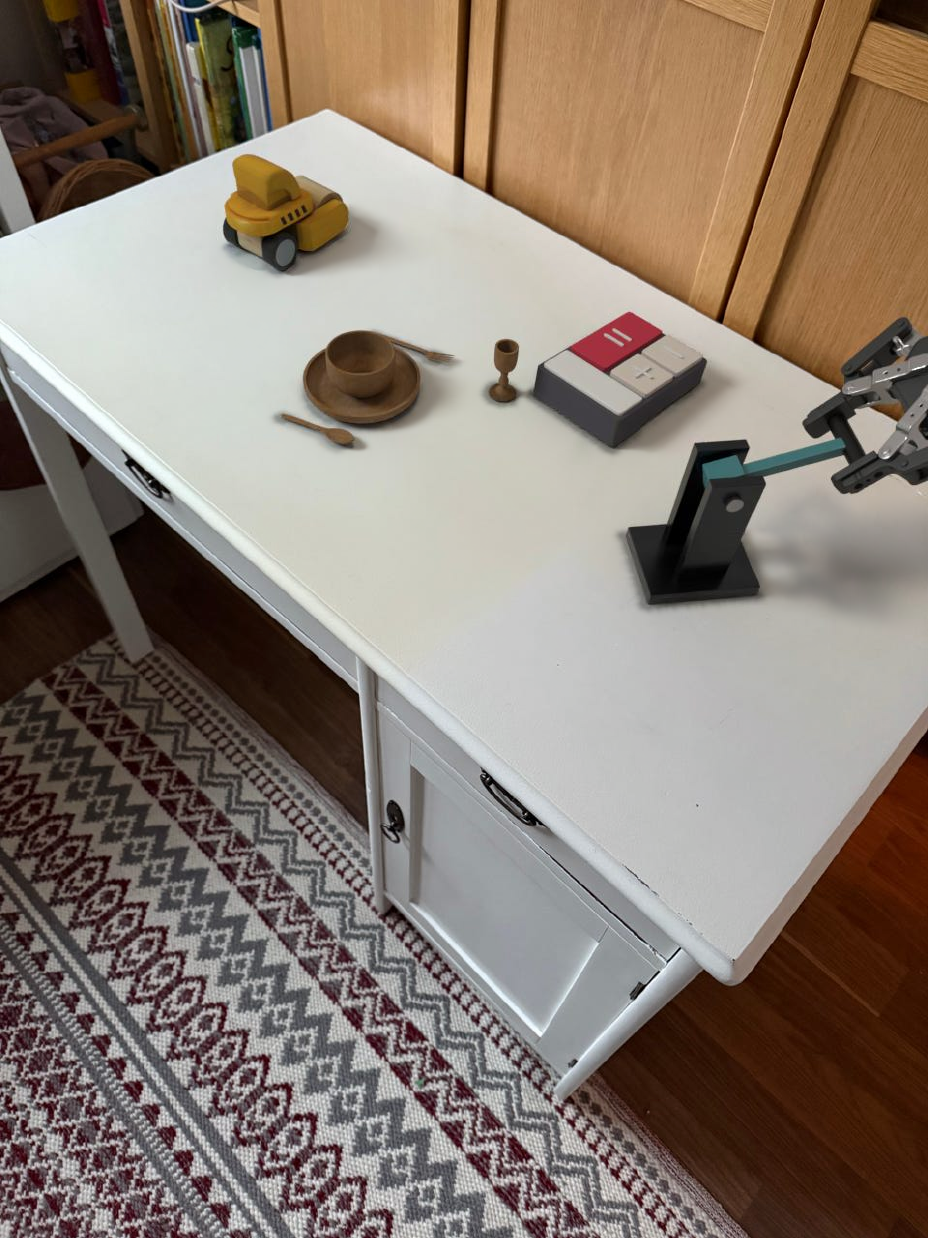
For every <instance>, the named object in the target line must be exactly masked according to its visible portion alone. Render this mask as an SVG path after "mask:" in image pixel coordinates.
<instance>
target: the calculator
mask: <svg viewBox="0 0 928 1238" xmlns="http://www.w3.org/2000/svg"><path fill="white" fill-rule="evenodd" d="M707 363H708V360H707V358H705V357H704V355H703V353H701V352H699V351H697V350H696V349H694V348H692V347H691V346H690V345H687V344H686V343H684V342H683V341H681V340H680V339H677V338H676V337H674V336H672V335H670V334H665V333H663V330H662V329H660V328H659V327H657V326H656V325H654V324H652V323H651V322H649V321H647V320H645V319H643V318H642V317H640V316H639V315H637V314H636V313H634V312H631V311H627V312H625V313H624V314H622V315H620V316H618V317H617V318H614V319H613V320H611V321H610V322H608V323H606V324H605V325H603V326H601V327H600V328H598V329H596V330H595V331H593V332H592V333H590V334H589V335H586V336H585V337H583V338H581V339H580V340H578V341H576V342H575V343H573V344H572V345H570V346H568V347H566V348H565V349H563V350H562V351H560V352H558V353H557V354H555V355H553V356H551V357H549V358H548V359H546V360H545V361H543V362H541V363H540V364H538V365H537V369H536V374H535V381H534V386H533V392H532V393H533V395H534V396H535V397H536V398H538V399H539V400H540V401H542V402H544V403H545V404H547V406H550V408H552V409H554V410H555V411H556V412H558V413H560V414H561V415H562V416H564V417H566V418H567V419H569V420H570V421H571V422H573V423H575V424H576V425H577V426H579V427H580V428H582V429H584V430H585V431H586V432H588V433H589V434H590V435H592V436H594V437H596V438H597V439H598V440H599V441H601V442H603V443H604V444H606V445H607V446H609V447H610V448H614V447H616V446H618V445H619V444H621V443H623V441H625V440H627V439H628V438H629V437H631V436H633V435H634V434H635V433H636V432H637V431H638V430H639V429H640V427H641V426H642V425H643V424H644V423H646V422H647V421H648V420H650V419H651V418H652V417H654V416H656V415H657V414H659V413H660V412H661V411H662V410H664V409H666V408H667V407H668V406H669V405H671V404H673V403H674V402H675V401H677V400H678V399H679V398H681V397H683V396H684V395H685V394H687V393H688V392H689V391H691V390H692V389H694V388H695V387H697V386H698V385H699V384H700V383H701V381H702V379H703V375H704V372H705V370H706V366H707Z"/></svg>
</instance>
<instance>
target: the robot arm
mask: <svg viewBox="0 0 928 1238" xmlns="http://www.w3.org/2000/svg"><path fill="white" fill-rule="evenodd" d="M902 357H903V358H905V359H904V360H903V361H900V362H898V360H899V359H900V358H902ZM840 373H841V374H842V376H843V385H842V387H841V390H840V391H839V392H838V393H836V394H835V395H833V396H832V397H830V398H829V399H827V400H825V401H824V402H823V403H820V405H818V406H816V407H815V408H813V409H811V410H810V412H809V413H808V414H807V415H806V418H803V420H802V422H801V424H802V426H803V429H804V431H805V432H806V434H808V436H810V437H811V438H812V439H815V440H817V439H820V438H821V437H824V435H826V434H828V433H829V432H831V430H830V429H829V427H828V424H827V423H828V420H829V419H830V418H831V417H832V416H834V415H836V414H843V415H845V417H846V419H847V420H850V419H851V418H853V417H854V416H856V415H857V412H856V411H855V410H862V409H866V408H870V407H873V406H878V405H882V404H883V405H886V406H887V405H888V406H892V405H896V404H900V405H901V409H902V411H903V413H904V414H903V415H902V416H901V417H900V419H898V421H897V422H896V425H895V430H894V431H893V433H892V434H891V435H890V436H889V437H888V438H887V439H886V440H885V442H884V443H883V444H882V445H881V446H880V448H879V449H878V451H877V452H876V451H875V450H871V451H870V452H868V453H866V455H865V456H863V457H862V458H860V459H858V460H857V461H855V462H853V463H852V464H850V465H849V464H847V466H845V467H843V468H842V469H840V470H838V471H837V472H835V473H833V474H832V475H831V477H830V481H831V483H832V485H833V487H834V488H835V489H836V490H837V491H838V492H839V494H841V495H847V494H850V495H853V494H854V495H855V494H858V493H860V492H862V491H864V490H865V489H867V488H869V487H870V486H872V485H874V484H876V483H877V482H878V481H880V480H882V479H884V478H886V477H888V476H890V475H896V476H899V477H900V478H901V479H903V480H905V481H906V482H907V483H908V484H909V485H910V486H919V485H921V484H924V483H926V482H928V335H926V336H923V335H922V334H920V332H918V331H917V330H916V328H915V327H914V325H913V324H912V323H911V322H910V320H909V318H908V317H906V316H901V317H899V318H897V319H896V320H894V321H893V322H892V323H891V324H890V325H889V326H887V327H886V328H885V329H884V330H883V331H882V332H881V333H879V334H878V335H876V337H874V338H873V339H872V340H871V341H869V342H868V343H867V344H866V345H864V347H863V348H861V349H860V350H859V351H858V352H856V354H854V355H853V356H851V358H849V359H848V360H847V361H846V362H845V363H843V364H842V365H841V368H840Z"/></svg>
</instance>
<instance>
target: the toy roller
mask: <svg viewBox="0 0 928 1238" xmlns="http://www.w3.org/2000/svg"><path fill="white" fill-rule="evenodd" d="M231 166H232V173H233V176H234V177H233V178H234V180H235V186H236V190H235V191H233V192H231V194H230V197H229V198H228V199H227V200H226V201H225V203H224V206H223V207H224V213H225V218H224V220H223V224H222V235H223V237H224V239H225V240H226V241H227V242H228V243H230V244H232V245H234V246H236V247H237V248H239V249H242V250H246V251H248V252H251V253H253V254H254V255H257V256H258V257H260V258H262V259H263V261H264V262H265V263H266V264H269V265H270V266H272V267H274V268H276V269H278V270H281V271H285V270H288V269H289V268H290V267H291V266H292V265H293V264H294V263H295V260H296V258H297V256H298V252H299V250H300V251H307V252H309V251H310V252H313V251H316V250H317V249H318V248H320V247H322V246H324V245H325V244H326V243H328V242H329V241H331V240H332V239H333V238H335V237H336V236H338V235H339V234H340V233H341V232H343V231H345V229H346V228H347V227H348V225H349V219H350V217H349V216H350V215H349V208H348V205H347V204H346V203H345V202H344V199H343V197H342V195H341V194H340V193H338V192H336V191H334V190H333V189H330V188H329V187H327V186H325V185H323V184H321V183H319V182H317V181H315V180H314V179H311V178H309V177H307V176H305V175H300V174H299V175H296V176H294V175H293V174H292V172H291V171H289V170H288V169H285V168H284V167H282V166H281V165H278V164H276V163H274V162H272V161H269V160H267V159H265V158H263V157H261V156H259V155H256V154H252V153H245V154H241V155H239V156H237V157H235V158H234V159H233V161H232V162H231Z"/></svg>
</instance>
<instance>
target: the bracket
mask: <svg viewBox="0 0 928 1238" xmlns="http://www.w3.org/2000/svg"><path fill="white" fill-rule="evenodd" d="M750 450H751V446H750V445H749V442H748V440H747V439H745V438H744V439H729V440H716V441H715V440H713V441H701V442H694V443H693V445H692V449H691V452H690V455H689V458H688V460H687V464H686V466H685V470H684V472H683V475H682V478H681V480H680V484H679V487H678V490H677V493H676V496H675V498H674V501H673V505H672V508H671V511H670V514H669V516H668V519H667V522H666V523H664V524H663V523H662V524H650V525H649V524H648V525H637V526H628V528H627V530H626V534H625V536H626V540H627V543H628V546H629V549H630V552H631V556H632V558H633V561H634V564H635V569H636V571H637V574H638V578H639V580H640V583H641V587H642V590H643V593H644V596H645V600H646V601H647V602H646V603H647V604H648V605H654V604H655V605H656V604H666V603H667V604H668V603H678V602H688V601H690V602H691V601H701V600H711V599H720V598H722V599H723V598H735V597H744V596H755V595H757V594H758V593H759V590H760V589H761V584H760V582H759V580H758V577H757V575H756V573H755V569H754V567H753V565H752V563H751V560H750V558H749V556H748V554H747V551H746V548H745V546H744V543H743V541H742V539H743V536H744V535H745V533H746V530H747V528H748V526H749V523H750V521H751V518H752V517H753V515H754V512H755V510H756V508H757V506H758V503H759V501H760V499H761V496H762V494H763V493H764V491H765V488H766V486H767V482H766V480H765V477H763V476H762V475H757V476H743V477H729V478H715V479H709V481H708V484H707V486H706V489H705V487H704V484H703V469H702V464H705V463H709V462H712V461H716V460H720V459H723V458H727V457H730V456H734V455H737V457H738V459H739V461H740V464H741V465H743V464H745V461H746V459H747V456H748V455H749V452H750Z"/></svg>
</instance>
